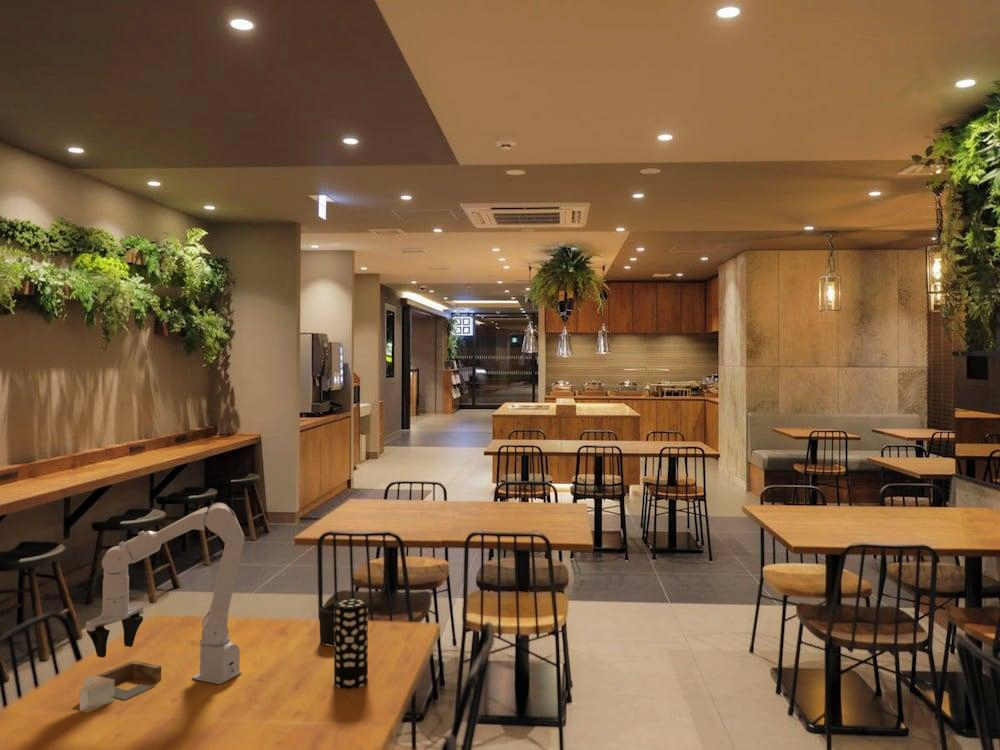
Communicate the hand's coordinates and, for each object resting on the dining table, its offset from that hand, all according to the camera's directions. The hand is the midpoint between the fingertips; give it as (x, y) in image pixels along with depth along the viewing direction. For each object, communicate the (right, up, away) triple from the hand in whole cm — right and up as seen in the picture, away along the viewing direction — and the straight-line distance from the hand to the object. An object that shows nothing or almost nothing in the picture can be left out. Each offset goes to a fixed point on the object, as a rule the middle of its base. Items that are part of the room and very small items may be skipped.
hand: (115, 651), depth 176 cm
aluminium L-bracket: (-2, -9, -8) cm, 12 cm away
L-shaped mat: (+3, -10, -1) cm, 10 cm away
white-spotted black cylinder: (+58, -10, +4) cm, 59 cm away
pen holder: (+47, -10, +34) cm, 59 cm away
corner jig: (+2, -10, +3) cm, 10 cm away
